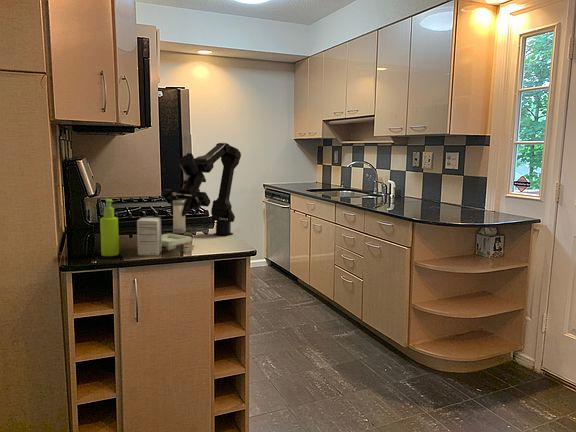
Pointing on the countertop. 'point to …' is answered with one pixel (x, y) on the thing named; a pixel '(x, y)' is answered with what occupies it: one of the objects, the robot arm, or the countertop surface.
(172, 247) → the blocks
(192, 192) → the robot arm
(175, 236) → the tray
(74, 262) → the countertop surface
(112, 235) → the soap dispenser
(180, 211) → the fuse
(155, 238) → the supplement box
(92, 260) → the countertop surface
